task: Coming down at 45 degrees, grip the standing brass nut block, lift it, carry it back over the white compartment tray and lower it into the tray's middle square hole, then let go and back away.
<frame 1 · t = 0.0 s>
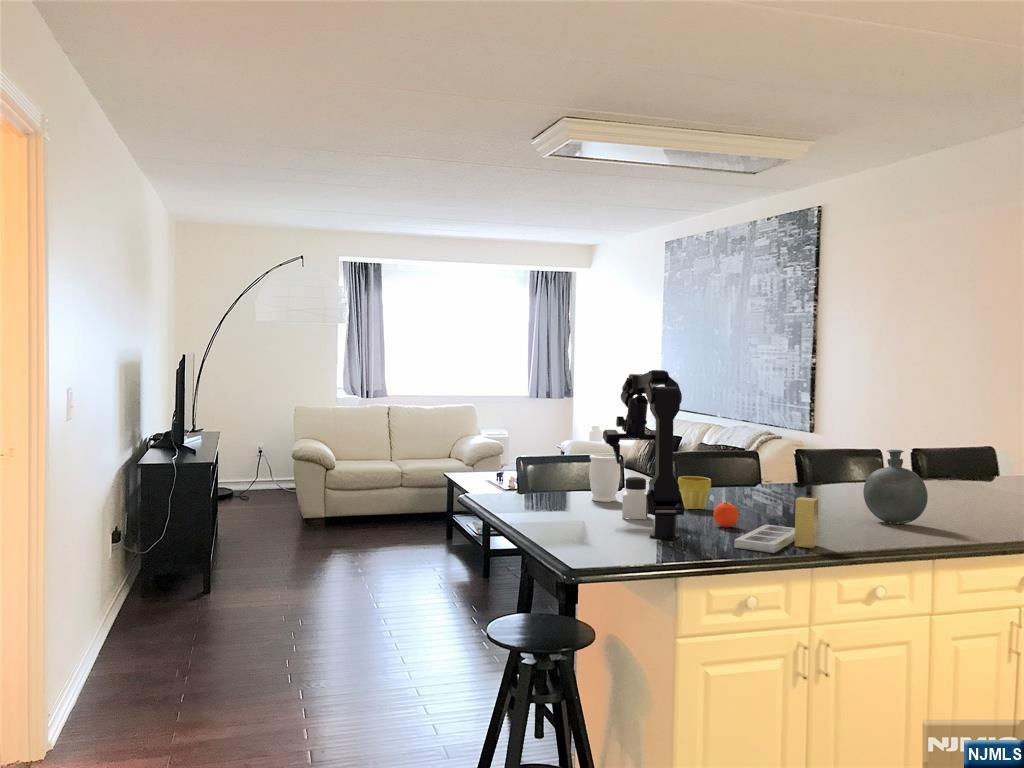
hand: (632, 463, 259), 15 cm above the counter, tool pointing down, fingers open, 9 cm apart
plant pot: (693, 509, 272), on the counter
tomato: (726, 527, 242), on the counter
white compartment tray: (769, 541, 222), on the counter
medicine bottle: (634, 518, 254), on the counter
flask: (893, 524, 252), on the counter
jar: (604, 501, 285), on the counter
nut block: (805, 545, 218), on the counter
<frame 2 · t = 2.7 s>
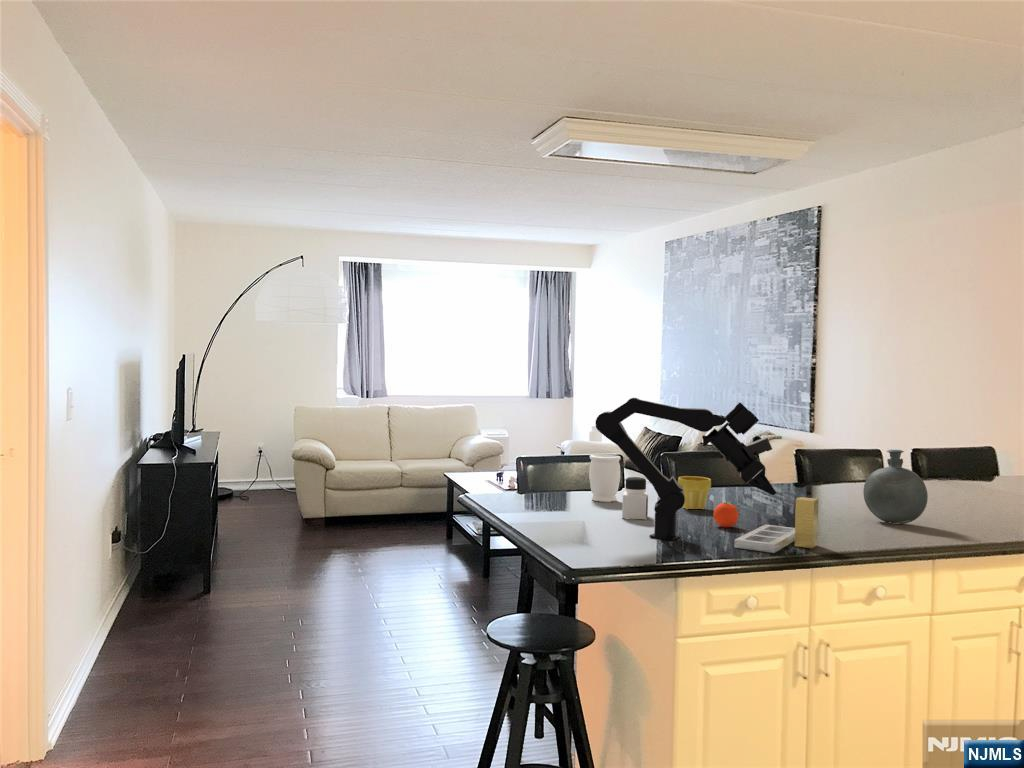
hand: (773, 491, 219), 13 cm above the counter, tool tilted 45°, fingers open, 9 cm apart
nothing on the counter moved.
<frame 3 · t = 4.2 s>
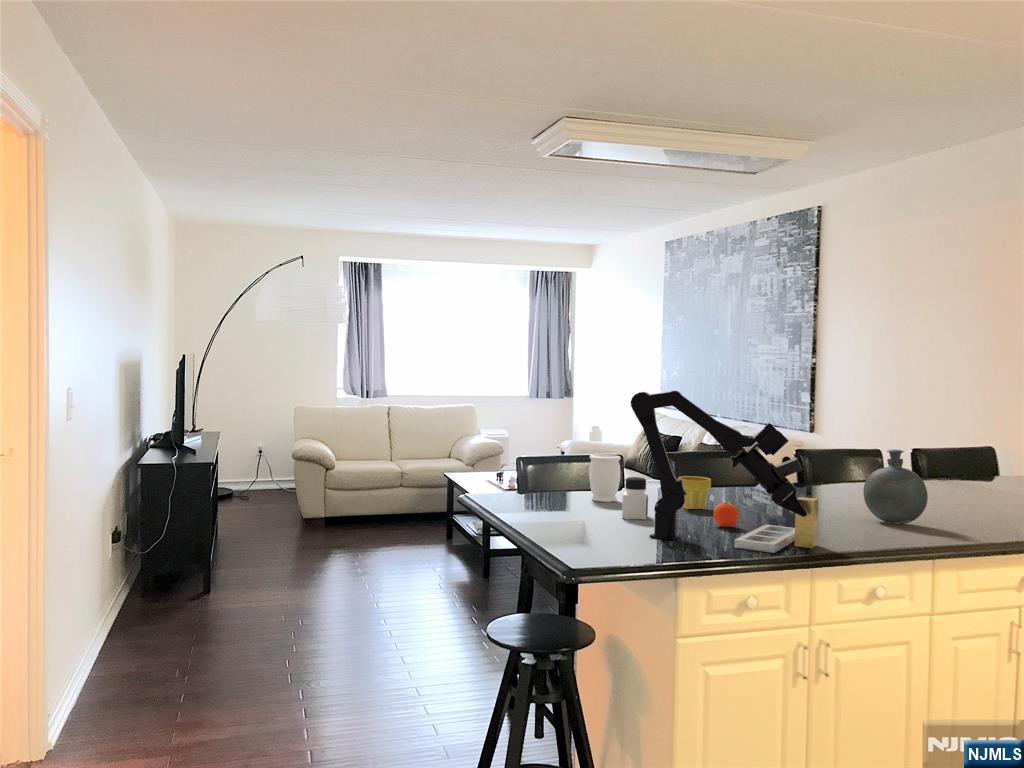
hand: (803, 512, 218), 8 cm above the counter, tool tilted 45°, fingers open, 9 cm apart
nothing on the counter moved.
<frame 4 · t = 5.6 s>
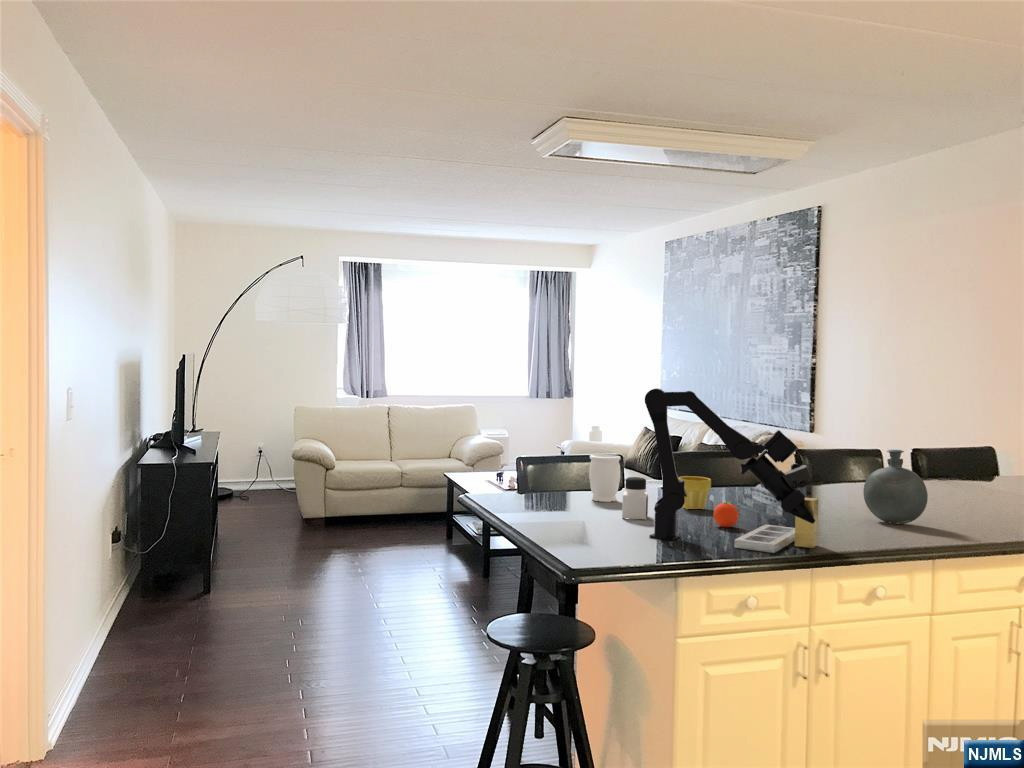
hand: (812, 520, 217), 7 cm above the counter, tool tilted 45°, fingers closed on nut block, 6 cm apart
nut block: (805, 545, 218), on the counter, touching gripper
everything else where it was.
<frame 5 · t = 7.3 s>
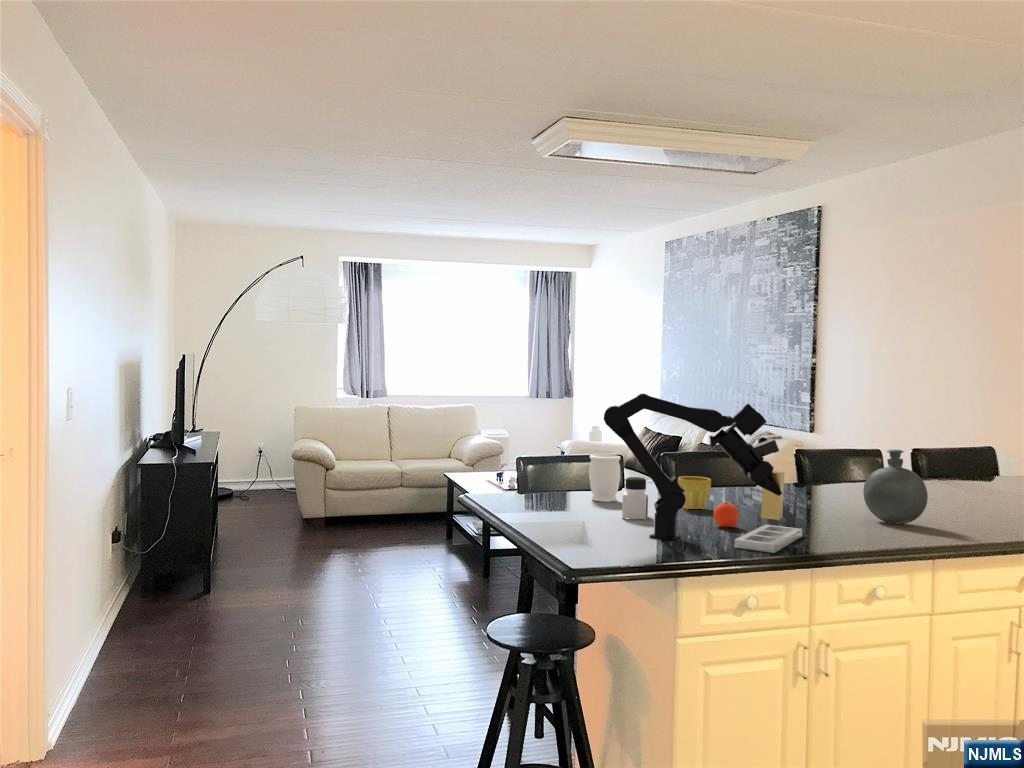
hand: (778, 492, 221), 13 cm above the counter, tool tilted 45°, fingers closed on nut block, 6 cm apart
nut block: (771, 517, 222), point 6 cm above the counter, touching gripper
everything else where it was.
when the fingers open (8 cm above the counter, at t = 9.0 s): nut block drops 2 cm, resting in white compartment tray.
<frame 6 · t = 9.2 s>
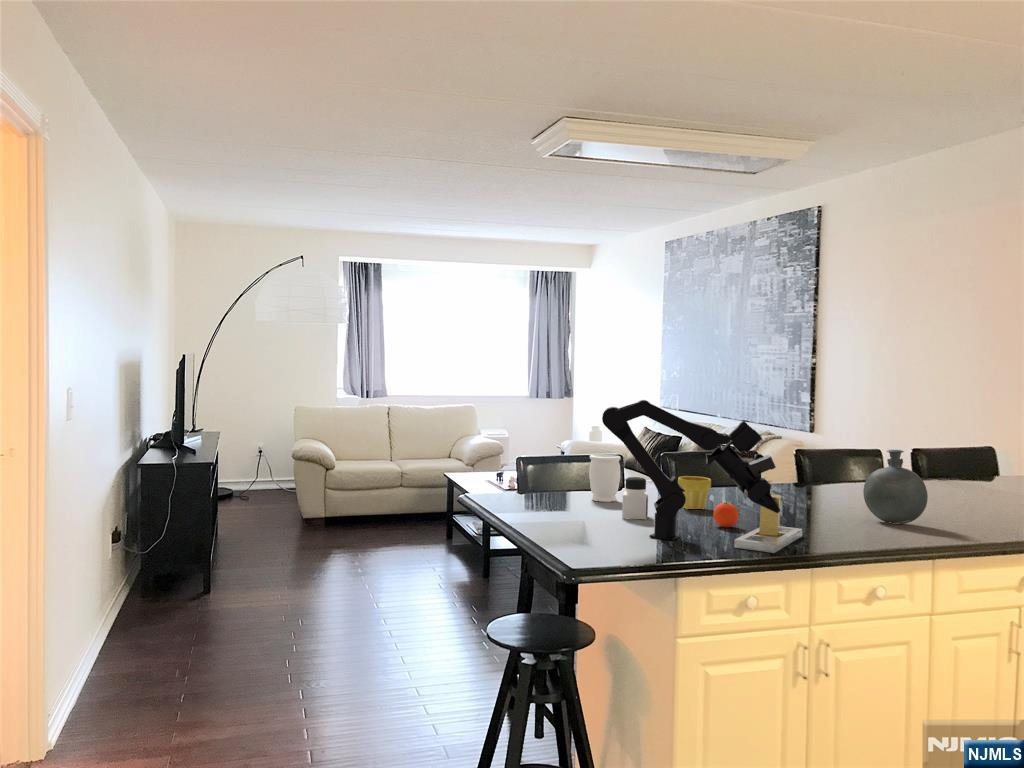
hand: (775, 509, 222), 9 cm above the counter, tool tilted 45°, fingers open, 8 cm apart
nut block: (768, 541, 222), resting in white compartment tray
everything else where it was.
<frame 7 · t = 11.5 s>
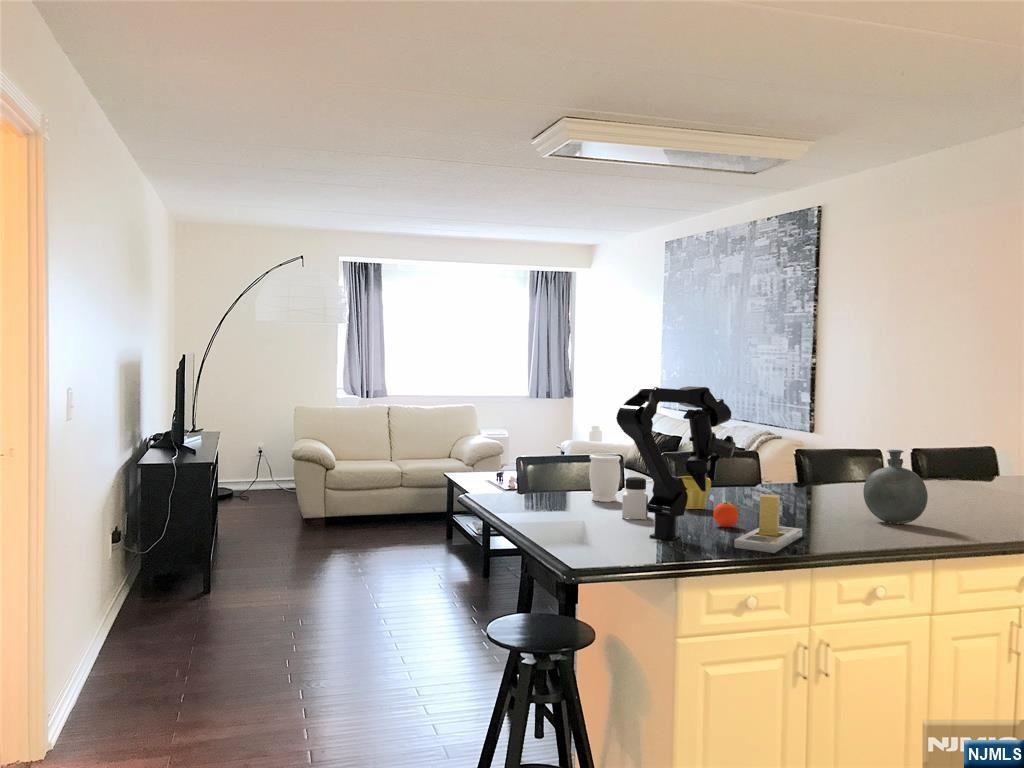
hand: (708, 485, 236), 12 cm above the counter, tool pointing down, fingers open, 9 cm apart
nothing on the counter moved.
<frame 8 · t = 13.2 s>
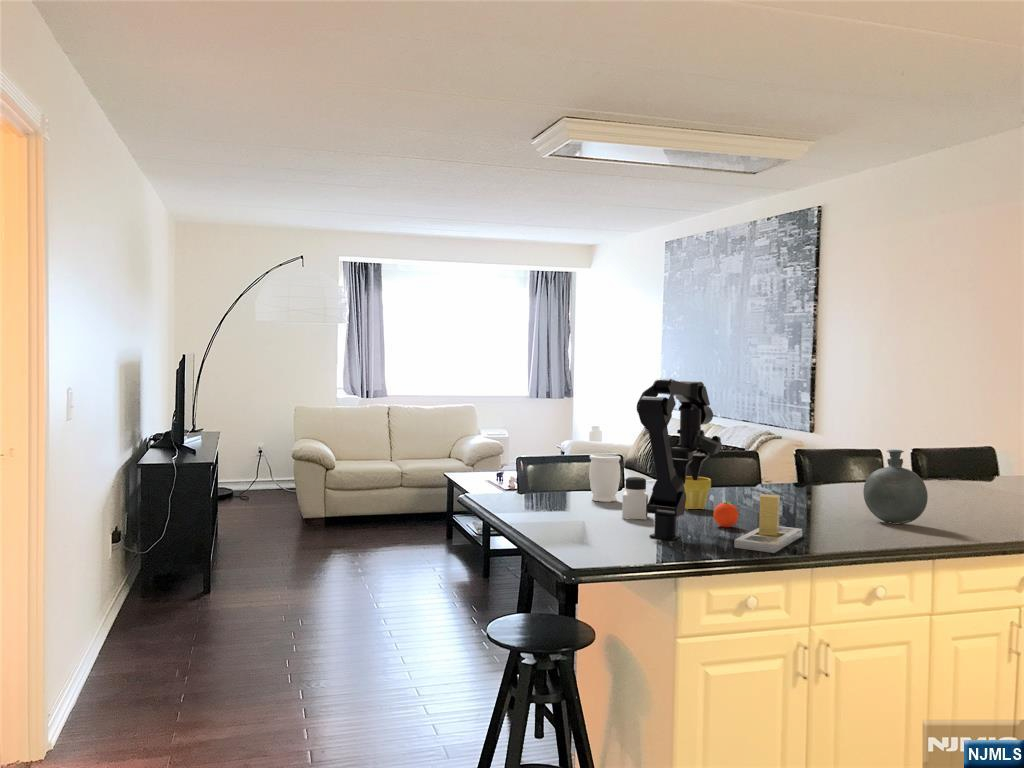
hand: (689, 481, 238), 13 cm above the counter, tool pointing down, fingers open, 9 cm apart
nothing on the counter moved.
at the end: nut block 0.2 cm off-centre on the white compartment tray, point 0.0 cm above the white compartment tray's base; nut block tilted 0°; the gripper is holding nothing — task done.
